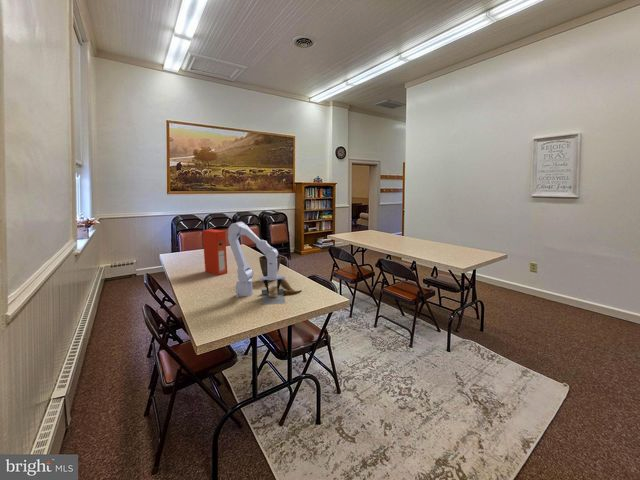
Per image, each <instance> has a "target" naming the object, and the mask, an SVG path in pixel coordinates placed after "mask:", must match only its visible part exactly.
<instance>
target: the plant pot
mask: <svg viewBox="0 0 640 480" xmlns="http://www.w3.org/2000/svg"><path fill="white" fill-rule="evenodd" d="M276 258H277V275H278V273H279V269H280V266H281V259H282V257H281V256H280V255H278V256H277V257H276ZM258 259H259V260H258V261H259V266H260V269H261V273H262V275H263V276H262V277H266V276H268V271H267V258H266V256H265V255H261V256H259V257H258ZM273 281H275V280H268V282H273Z"/></svg>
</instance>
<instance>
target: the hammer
mask: <svg viewBox="0 0 640 480" xmlns="http://www.w3.org/2000/svg"><path fill="white" fill-rule="evenodd" d="M281 284H282V285H283V286H284V291H283V295H284V296H286V295H289V296H293V295H297V294H298V293H301V292H302V289H301V290H294V289H293V288H292V287H291V286H290V284H289V282H288V281H287V280H286V279H285V280H282V282H281Z"/></svg>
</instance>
